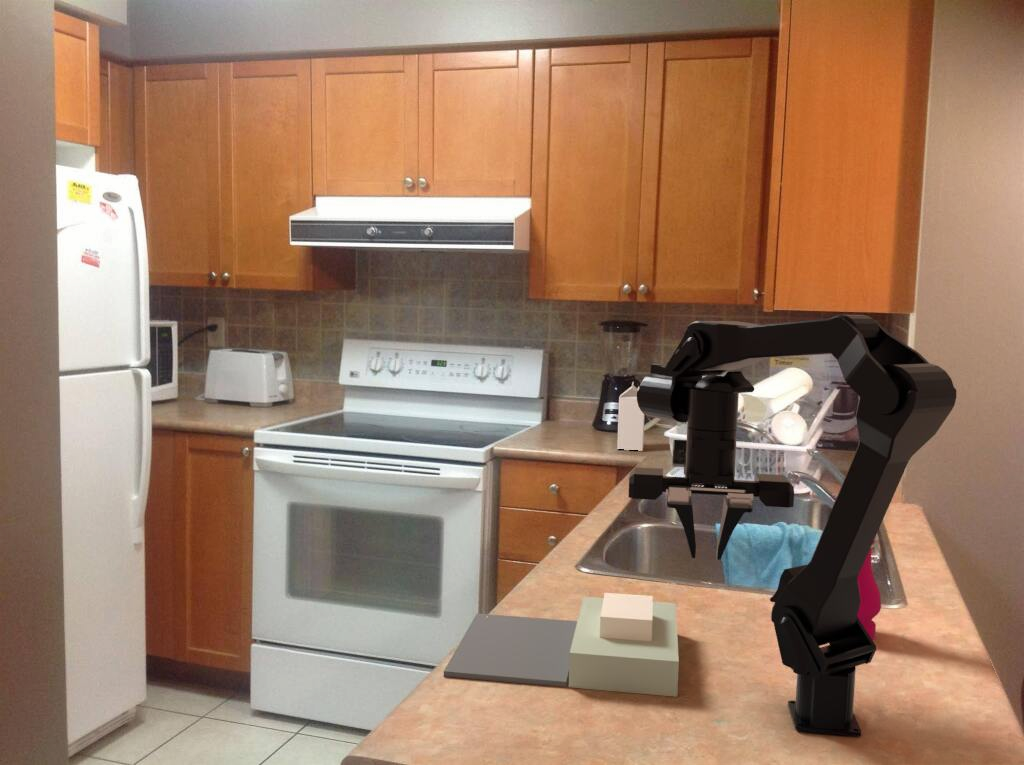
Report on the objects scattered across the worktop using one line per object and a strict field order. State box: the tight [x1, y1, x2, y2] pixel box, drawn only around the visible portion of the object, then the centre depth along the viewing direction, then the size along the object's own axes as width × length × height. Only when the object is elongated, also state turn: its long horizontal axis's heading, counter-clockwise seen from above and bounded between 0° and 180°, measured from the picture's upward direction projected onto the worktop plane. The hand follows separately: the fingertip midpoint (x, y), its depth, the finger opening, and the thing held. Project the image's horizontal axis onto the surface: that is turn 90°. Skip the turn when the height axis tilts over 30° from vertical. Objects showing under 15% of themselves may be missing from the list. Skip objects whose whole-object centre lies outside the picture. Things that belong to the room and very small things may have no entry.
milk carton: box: [616, 381, 646, 452], centre depth 270 cm, size 7×7×19 cm
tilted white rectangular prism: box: [600, 592, 654, 641], centre depth 115 cm, size 9×6×2 cm, turn 171°
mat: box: [443, 613, 578, 688], centre depth 117 cm, size 20×14×1 cm
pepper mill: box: [857, 535, 882, 640], centre depth 125 cm, size 7×7×20 cm
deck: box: [568, 596, 680, 698], centre depth 115 cm, size 20×12×4 cm, turn 171°
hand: (705, 558), depth 113 cm, fingers open, 3 cm apart
